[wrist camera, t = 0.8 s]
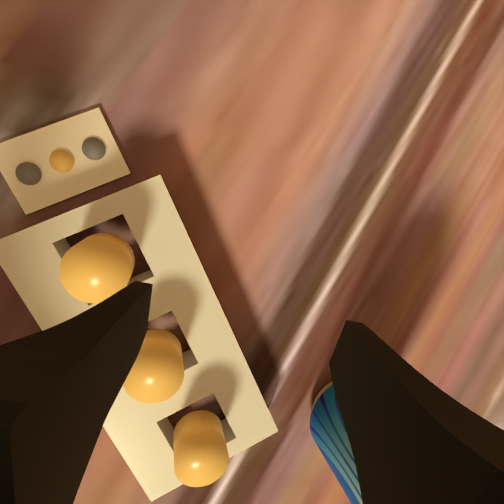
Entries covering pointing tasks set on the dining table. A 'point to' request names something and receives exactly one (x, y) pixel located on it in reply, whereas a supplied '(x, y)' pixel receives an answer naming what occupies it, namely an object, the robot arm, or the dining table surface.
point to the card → (61, 160)
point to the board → (162, 301)
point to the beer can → (334, 441)
